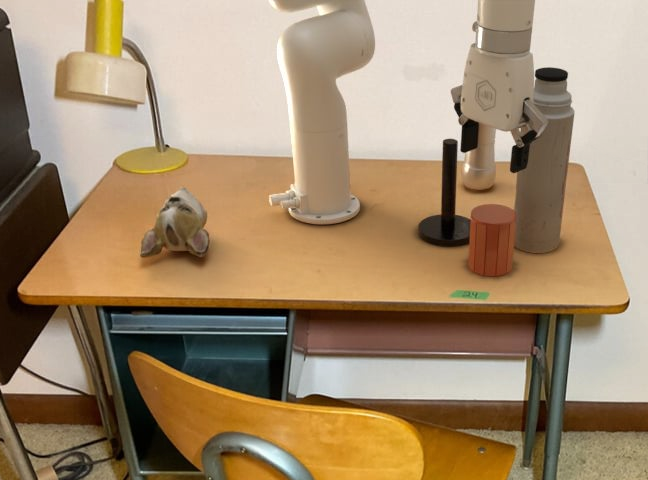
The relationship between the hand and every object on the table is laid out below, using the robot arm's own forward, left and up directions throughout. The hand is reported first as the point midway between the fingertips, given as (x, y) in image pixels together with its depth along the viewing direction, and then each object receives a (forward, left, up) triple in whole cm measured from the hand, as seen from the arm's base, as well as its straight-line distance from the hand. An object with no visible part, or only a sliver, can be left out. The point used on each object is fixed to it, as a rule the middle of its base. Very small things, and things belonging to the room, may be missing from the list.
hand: (493, 160), depth 125 cm
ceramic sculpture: (-43, +25, -18) cm, 53 cm away
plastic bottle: (+13, +27, -18) cm, 35 cm away
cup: (0, -1, -17) cm, 17 cm away
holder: (-1, +12, -17) cm, 21 cm away
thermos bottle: (+11, +3, -18) cm, 21 cm away
